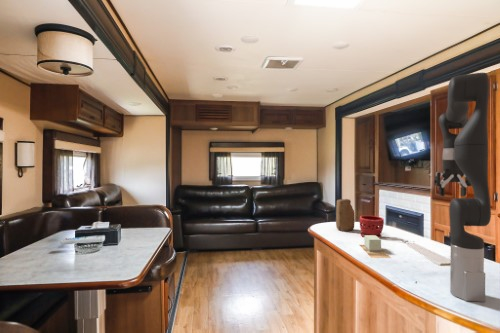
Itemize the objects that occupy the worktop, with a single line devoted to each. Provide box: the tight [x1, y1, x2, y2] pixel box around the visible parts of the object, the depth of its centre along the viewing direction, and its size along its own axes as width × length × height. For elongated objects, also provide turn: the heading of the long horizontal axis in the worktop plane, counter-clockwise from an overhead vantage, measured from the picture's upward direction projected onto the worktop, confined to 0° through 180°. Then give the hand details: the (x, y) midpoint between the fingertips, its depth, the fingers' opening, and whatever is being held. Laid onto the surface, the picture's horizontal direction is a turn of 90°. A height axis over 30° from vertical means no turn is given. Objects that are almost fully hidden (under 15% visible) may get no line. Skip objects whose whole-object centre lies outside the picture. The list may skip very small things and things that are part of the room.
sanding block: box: [364, 235, 382, 252], centre depth 149 cm, size 8×6×6 cm
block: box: [335, 198, 356, 232], centre depth 194 cm, size 11×8×20 cm
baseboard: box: [404, 240, 451, 266], centre depth 146 cm, size 30×3×10 cm
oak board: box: [359, 244, 392, 259], centre depth 147 cm, size 20×9×2 cm, turn 175°
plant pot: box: [359, 215, 385, 238], centre depth 176 cm, size 13×13×12 cm
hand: (452, 196), depth 130 cm, fingers open, 8 cm apart
